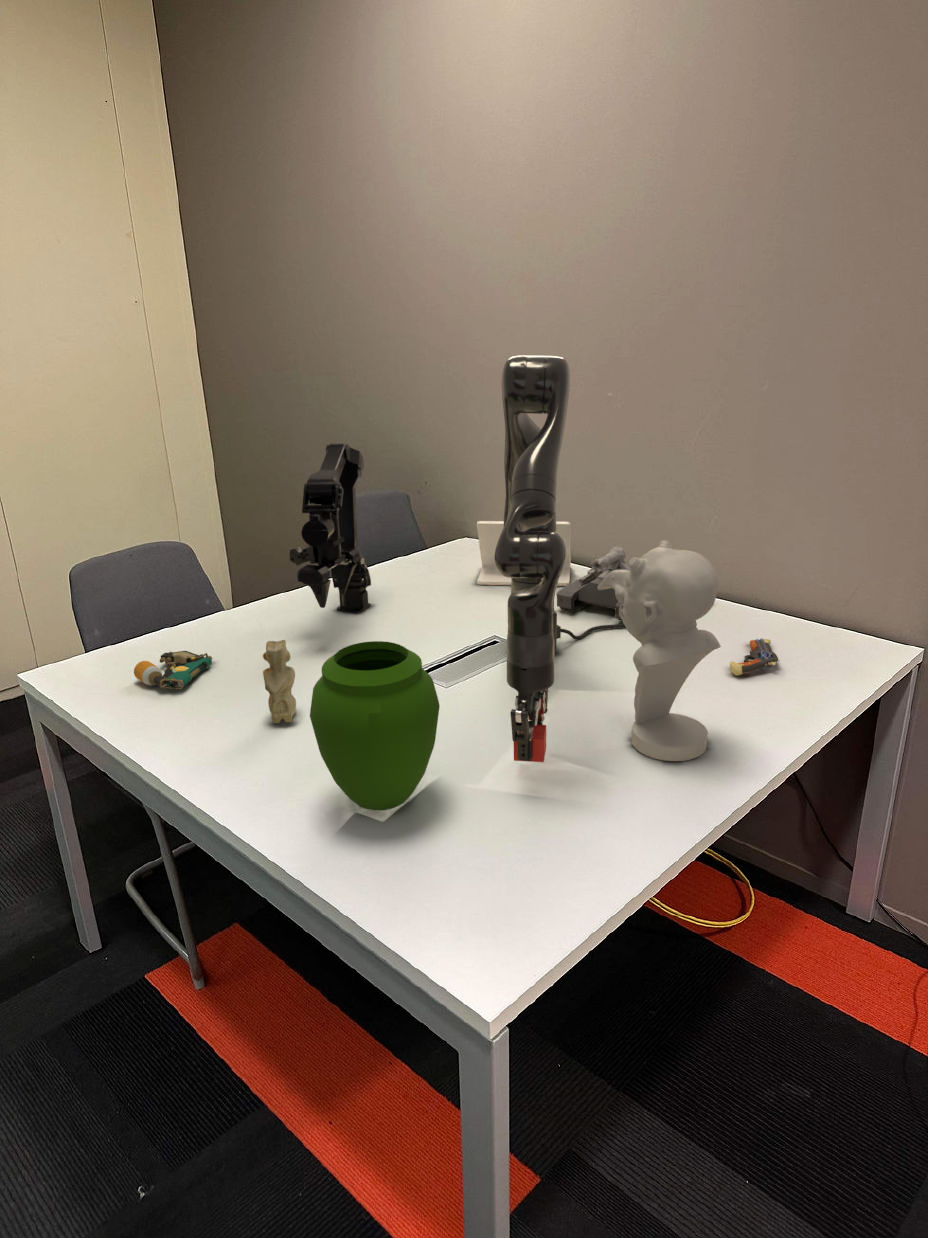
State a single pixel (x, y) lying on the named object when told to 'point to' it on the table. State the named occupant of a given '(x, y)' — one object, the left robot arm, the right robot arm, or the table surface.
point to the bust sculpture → (666, 643)
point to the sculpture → (279, 681)
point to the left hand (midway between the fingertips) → (332, 600)
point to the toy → (594, 585)
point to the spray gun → (172, 669)
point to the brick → (535, 745)
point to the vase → (375, 722)
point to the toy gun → (756, 658)
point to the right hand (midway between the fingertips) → (530, 750)
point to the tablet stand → (488, 543)
